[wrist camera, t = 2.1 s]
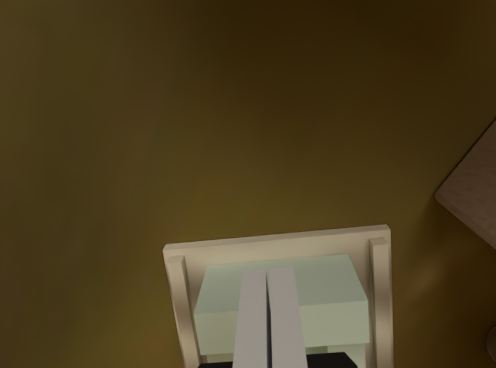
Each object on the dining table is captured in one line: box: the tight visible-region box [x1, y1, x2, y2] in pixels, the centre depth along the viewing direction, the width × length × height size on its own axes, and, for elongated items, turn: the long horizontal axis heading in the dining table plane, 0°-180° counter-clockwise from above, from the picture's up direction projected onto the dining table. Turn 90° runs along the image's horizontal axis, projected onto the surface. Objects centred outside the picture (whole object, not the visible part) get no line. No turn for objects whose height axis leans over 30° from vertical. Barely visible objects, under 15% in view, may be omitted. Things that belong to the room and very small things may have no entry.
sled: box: [194, 254, 370, 368], centre depth 29 cm, size 11×10×6 cm
